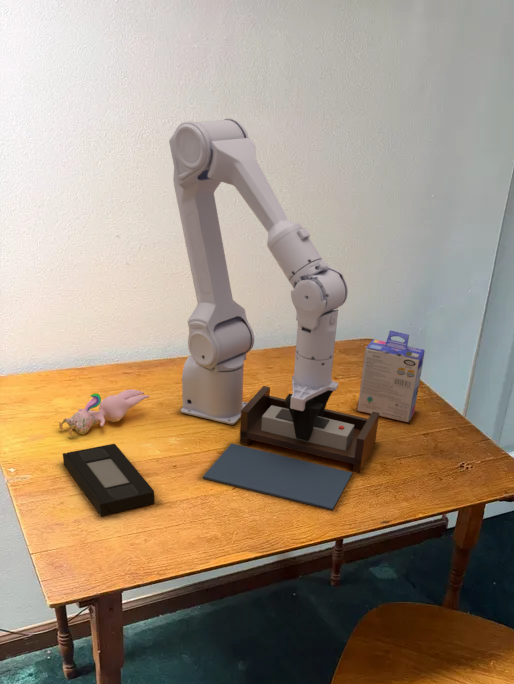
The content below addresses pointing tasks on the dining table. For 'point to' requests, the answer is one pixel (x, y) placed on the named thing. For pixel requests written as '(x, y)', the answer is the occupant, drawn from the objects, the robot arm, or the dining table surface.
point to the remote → (322, 434)
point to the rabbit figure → (103, 410)
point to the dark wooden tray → (353, 454)
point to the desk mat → (279, 476)
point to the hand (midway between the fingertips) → (307, 432)
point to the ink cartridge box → (391, 378)
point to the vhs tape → (108, 479)
